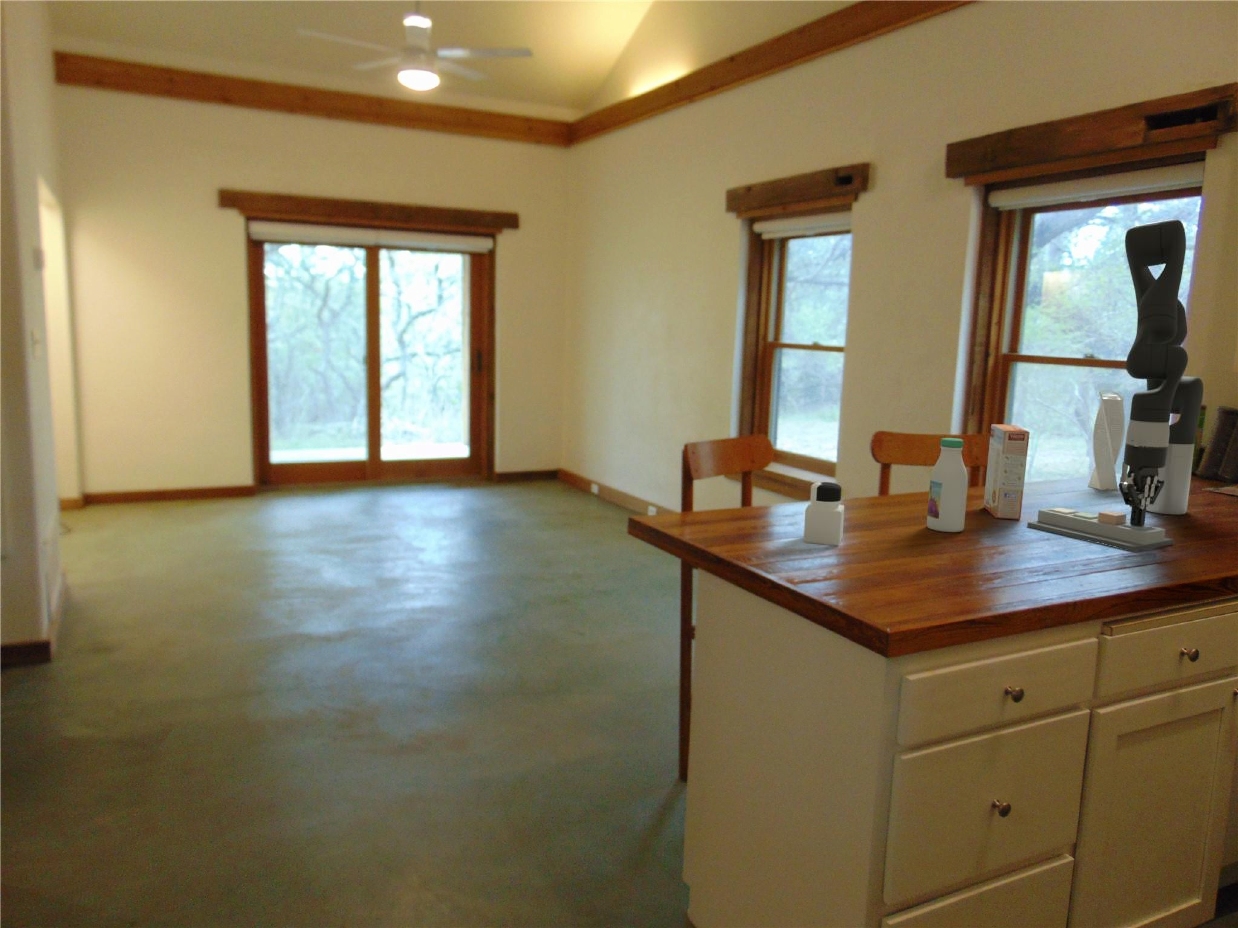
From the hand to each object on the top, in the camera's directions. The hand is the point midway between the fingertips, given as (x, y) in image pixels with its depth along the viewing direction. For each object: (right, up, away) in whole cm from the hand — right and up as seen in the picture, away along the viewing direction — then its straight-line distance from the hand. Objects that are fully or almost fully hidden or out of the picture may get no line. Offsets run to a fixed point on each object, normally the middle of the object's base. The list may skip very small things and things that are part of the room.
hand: (1136, 525), depth 183 cm
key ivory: (-8, 0, +15) cm, 17 cm away
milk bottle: (-36, -2, +11) cm, 38 cm away
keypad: (-4, -3, +8) cm, 9 cm away
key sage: (-5, -1, +10) cm, 11 cm away
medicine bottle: (-66, -3, -2) cm, 66 cm away
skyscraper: (+28, +5, +64) cm, 70 cm away
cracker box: (-16, +1, +28) cm, 32 cm away
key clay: (-3, 0, +5) cm, 6 cm away
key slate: (0, -3, 0) cm, 3 cm away
